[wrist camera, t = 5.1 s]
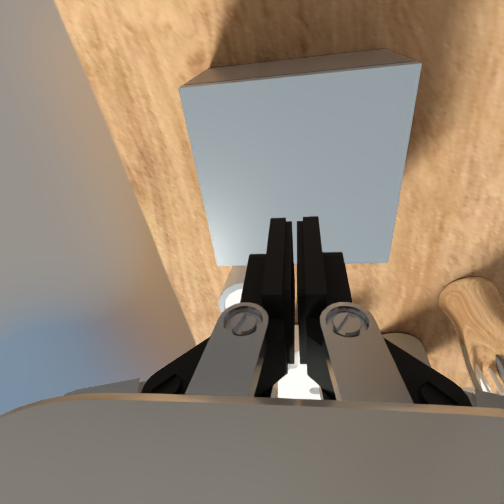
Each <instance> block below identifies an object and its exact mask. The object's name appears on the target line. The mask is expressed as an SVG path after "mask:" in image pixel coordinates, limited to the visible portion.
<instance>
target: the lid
mask: <svg viewBox="0 0 504 504" xmlns="http://www.w3.org/2000/svg"><path fill="white" fill-rule="evenodd" d="M421 67H422V63H421V62H418V61H415V62H405V63H396V64H386V65H376V66H367V67H357V68H347V69H338V70H328V71H318V72H309V73H299V74H290V75H280V76H270V77H261V78H251V79H241V80H232V81H222V82H213V83H203V84H193V85H184V86H181V87H180V88H179V93H180V98H181V102H182V107H183V111H184V116H185V120H186V125H187V130H188V134H189V139H190V143H191V148H192V152H193V157H194V162H195V166H196V171H197V175H198V180H199V184H200V189H201V194H202V198H203V203H204V207H205V212H206V216H207V221H208V226H209V230H210V235H211V239H212V244H213V249H214V253H215V258H216V262H217V266H245V265H247V263H248V258H249V255H250V254H266V251H267V242H268V234H269V226H270V218H285V217H286V221H292V233H293V256H294V265H295V264H297V221H303V217H310V216H318V218H319V226H320V235H321V245H322V252H342V253H343V257H344V262H345V263H388V261H389V255H390V249H391V244H392V238H393V232H394V226H395V220H396V214H397V208H398V202H399V196H400V190H401V185H402V179H403V173H404V167H405V161H406V155H407V149H408V143H409V137H410V131H411V126H412V120H413V114H414V108H415V102H416V96H417V90H418V84H419V78H420V72H421Z"/></svg>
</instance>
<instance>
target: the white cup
mask: <svg viewBox="0 0 504 504" xmlns="http://www.w3.org/2000/svg"><path fill="white" fill-rule="evenodd" d="M246 269H247V265H245V266H232V268H231V270H230V273H229V275H228V278H227V280H226V283H225V285H224V288H223V290H222V292H221V295H220V297H219V309H220V311H221V314H222V312H223V311H224V310H226V309H227V308H228V307H230V306H232V305H234V304H238V303H240V300H241V295H242V290H243V284H244V279H245V274H246Z"/></svg>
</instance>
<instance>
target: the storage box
mask: <svg viewBox="0 0 504 504" xmlns="http://www.w3.org/2000/svg"><path fill="white" fill-rule="evenodd" d="M415 61H416V60H414V59H411V58H409V57H406V56H404V55H401V54H399V53H396V52H394V51H391V50H389V49H386V48H385V49H376V50H367V51H358V52H349V53H340V54H331V55H321V56H312V57H303V58H294V59H285V60H276V61H267V62H258V63H249V64H240V65H231V66H222V67H213V68H208V69H207V70H205V71H204V72H202V73H201V74H199V75H198V76H196V77H195V78H193V79H191V80H190V81H188V82H187V83H185V84H184V85H193V84H203V83H213V82H222V81H232V80H241V79H251V78H261V77H270V76H280V75H290V74H299V73H309V72H318V71H328V70H338V69H347V68H357V67H367V66H376V65H386V64H396V63H405V62H415ZM184 85H183V86H184Z"/></svg>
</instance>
